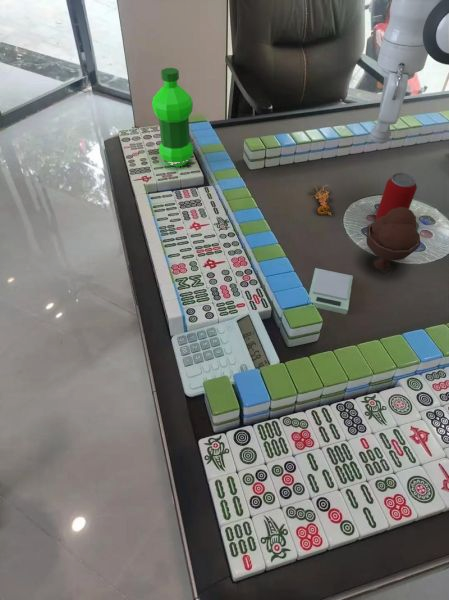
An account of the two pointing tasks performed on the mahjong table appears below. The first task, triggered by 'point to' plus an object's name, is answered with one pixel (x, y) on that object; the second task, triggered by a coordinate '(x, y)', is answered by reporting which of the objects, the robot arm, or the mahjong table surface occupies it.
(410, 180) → the beverage can
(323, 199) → the dragon
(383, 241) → the ice cream bowl
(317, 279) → the scale
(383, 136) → the rook chess piece
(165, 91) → the plastic bottle
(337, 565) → the mahjong table surface
